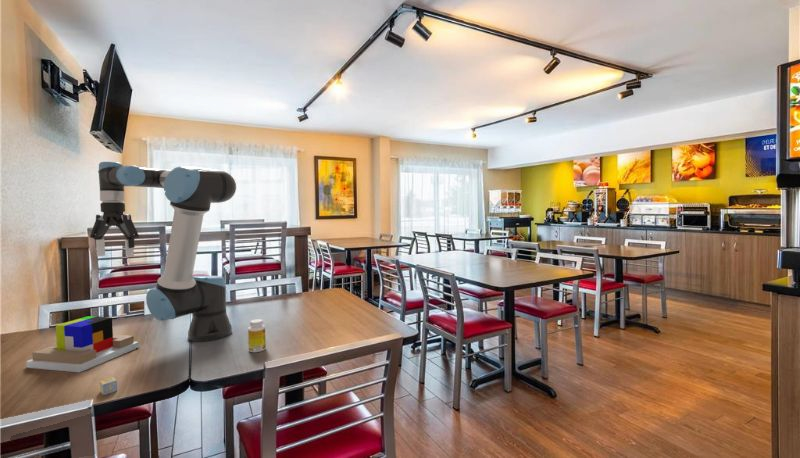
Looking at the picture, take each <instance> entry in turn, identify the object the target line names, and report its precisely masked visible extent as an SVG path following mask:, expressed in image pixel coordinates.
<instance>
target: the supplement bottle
mask: <svg viewBox="0 0 800 458" xmlns="http://www.w3.org/2000/svg"><path fill="white" fill-rule="evenodd" d="M247 340H248V341H247V344H248V351H249V352H250V353H258V352H263V351H265V349H266V345H267V344H266V343H267V342H266V326H265V325H264V322H263V319H262V318H260V319H259V318H258V319H257V318H256V319H252V320H250V326H248V327H247Z"/></svg>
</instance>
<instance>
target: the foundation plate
mask: <svg viewBox="0 0 800 458" xmlns="http://www.w3.org/2000/svg"><path fill="white" fill-rule="evenodd" d="M136 348H137V349H138V348H139V349H140V342H139V341H135V338H134V335H129V334H128V335H127V334H125V335H124V334H113V347H110V348H108V349H105V350H103V351H100V352H97V353H96V350H91V349H88V350H85V351H82V352H79V351H66V350H57V346H52V345H50V346H47V347H44V348H42V349H39V350H36V351H32V353H31V354H32V358H31V359H28V360H26V362H25V363H26V368H27V369H38V370H48V371H49V370H50V371H59V372H61V371H62V372H73V373H81V372H82V373H83V372H84V371H86V370H88V369H91V368H93V367H95V366H98V365H100V364H103V363H105V362H107V361H110V360H113V359H115V358H117V357H119V356H123V355H124V353H125V354H127V353H129V352H131V351H134V350H136Z"/></svg>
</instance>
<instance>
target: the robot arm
mask: <svg viewBox="0 0 800 458" xmlns="http://www.w3.org/2000/svg"><path fill="white" fill-rule="evenodd" d="M97 172H98V181H99V183H98V184H99V201H100V204H99V205H100V212H101V213H102V214H95V222H94V223H93V227H92V229H91V232H90V235H89V237H90V238H91V239H94V240H95V241H94V242H95V248H96V257H104V256H106V245H105V243H106V241H105V237H104V236H105V235H106V234H107V232H108V231H109V230H110V227H112V226H113V227H116V228H118V229H119V231H120V232H121V233H122V234H123V236H124V237H125V239H124V244H125V247H124V248H125V257H126V258H128V257H129V258H130V257H135V253H134V252H135V251H134V250H135V249H134V248H135V240H136V239H138V238H139V236H140V235H139V232H138V230H137V229H136V226H135V224H134V222H133V220H132V215H131V214H130V213H129V214H128V213H127V214H126V213H125V212H126V204H125V187H140V188H159V189H163V190H164V195H165V197H166V199H167V200H168V201H170V202H169V203H170V204H169V205H170V206H171V207H172V209H173V210H174V211H173V217H172V223H171V229H170V230H171V231H170V235H169V241H168V247H167V252H166V260H165V265H164V273H163V275H162V276H160V277H158V279H157V280H156V287H152V288H151V289H149V290H148V291H147V293H146V296H145V300H146V305H147V309H148V310H149V314H151V316H152V317H153V318H155V319H156V320H158V321H159V322H160V321H162V322H163V321H168V320H175V319H176V318H180V317H183V316H184V317H185V316H188V315H191V314H192V319H191V321H190V324H189V328H188V331H187V338H188V340H190V341H193V342H206V341H207V342H208V341H214V340H219V339H222V338H225V337H227V336H229V335H231V333H232V332H233V327H232V324H231V321H230V319H229V317H228V316H229V315H228V314H227V293H226V292H227V291H226V288H227V286H226V279H225V278H224V277H223V276H218V275H193V274H194V269H195V263H196V258H197V253H198V246H199V242H200V235H201V230H202V225H203V220H204V215H205V214H206V213H208V212H210V209H211V205H212V203H213V204H219V203H225V202H227V201H229V200H230V199H232V198H233V196H235V194H236V190H237V182H236V180H235V178H234V177H233V176H232V175H231V174H230V173H229V172H226V171H225V170H221V169H214V168H213V169H212V168H205V167H204V168H203V167H197V166H190V165H189V166H188V165H187V166H175V167H174V168H173V169H171V170H170V169H163V168H162V169H160V168H148V167H141V166H140V167H139V166H136V165H128V164H127V165H123V163H121V162H119V161H118V162H117V161H101V162H99V163H98V171H97ZM124 213H125V214H124Z"/></svg>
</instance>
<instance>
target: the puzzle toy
mask: <svg viewBox="0 0 800 458" xmlns="http://www.w3.org/2000/svg"><path fill="white" fill-rule="evenodd" d="M113 329H114V328H113V317H109V316H108V317H107V316H89V315H88V316H84V317H80V318H77V319H73V320H70V321H66V322H61V323H59V324H56V325H55V335H56V336H55V339H56V347H57V350H66V351H79V352H82V351H85V350H88V349H91V350H96V353H97V352H100V351H103V350H105V349H108V348H110V347H113V335H114V332H113V331H114V330H113Z"/></svg>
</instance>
